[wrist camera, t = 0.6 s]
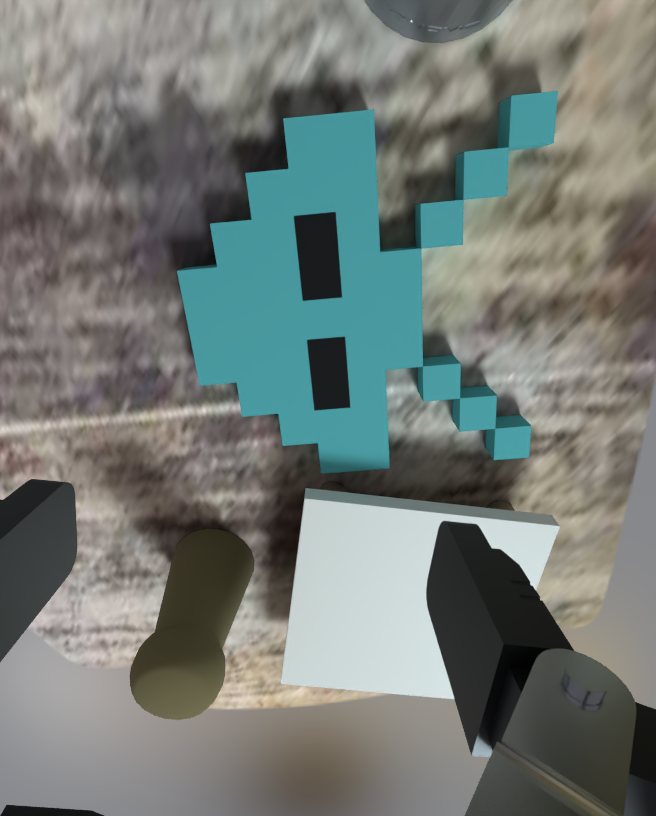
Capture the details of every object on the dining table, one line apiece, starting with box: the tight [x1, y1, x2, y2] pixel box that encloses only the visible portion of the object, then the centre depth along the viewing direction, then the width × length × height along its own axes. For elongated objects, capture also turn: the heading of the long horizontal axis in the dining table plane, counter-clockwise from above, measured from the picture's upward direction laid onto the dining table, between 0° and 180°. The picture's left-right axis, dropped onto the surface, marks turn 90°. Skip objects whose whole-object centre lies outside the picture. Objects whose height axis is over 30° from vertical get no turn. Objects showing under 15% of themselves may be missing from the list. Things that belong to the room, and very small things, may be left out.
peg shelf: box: [281, 482, 560, 699], centre depth 34 cm, size 16×16×4 cm
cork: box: [130, 528, 254, 720], centre depth 31 cm, size 6×6×11 cm
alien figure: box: [177, 91, 558, 474], centre depth 28 cm, size 20×2×20 cm
